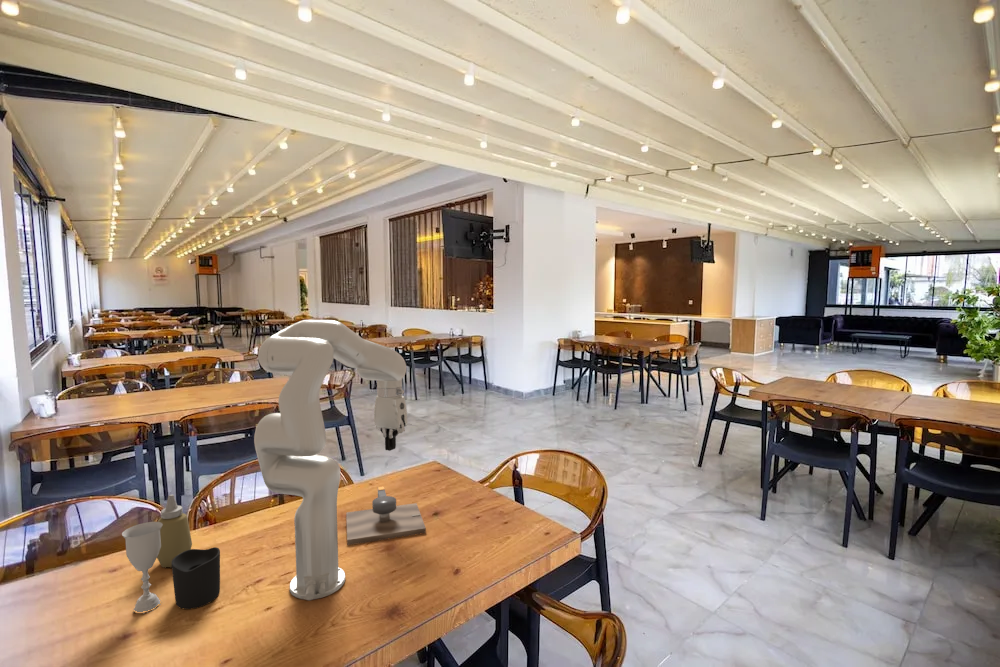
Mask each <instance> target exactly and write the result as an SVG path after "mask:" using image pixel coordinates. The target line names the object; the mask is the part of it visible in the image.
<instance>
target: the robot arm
mask: <svg viewBox="0 0 1000 667" xmlns="http://www.w3.org/2000/svg"><path fill="white" fill-rule="evenodd" d="M257 358H258V359H257V360H258V363H259V364H260V367H262V368H263V370H265V371H266V372H268V373H271V374H283V375H284V374H285V375H290V377H289V378H288V380H286V383H285V384H284V386H283V388H281V391H280V392H279V396H278V401H277V402H278V408H279V409H278V410H279V412H273V413H269V414H266V415H265V416H263V417H262V418H261V419H260V420H259V422H258V423H257V425H256V427H255V432H254V436H253V438H254V439H253V443H254V444H253V445H254V449H255V453H256V456H257V461H258V464H259V468H260V471H261V472H260V473H261V476H262V479H263V482H264V484H265V487H266V488H267V490H269V491H271V492H272V493H276V494H281V495H283V494H284V495H290V496H291V495H292V496H297V497H302V502H301V503H300V505H299V506H298V508H296V511H295V513H294V520H293V521H294V542H295V545H294V546H295V572H296V573H295V574H296V575H295V576H294V577H293V578H292V579H291V581H290V582H289V592H290V594H291V595H292V596H293V597H295V598H298V599H300V600H306V601H312V600H317V599H322V598H324V597H327V596H328V597H329V596H330V595H332V594H334V593H335V592H337V591H338V590H340V589H341V588H342V587H343V585H344V583H345V581H346V573H345V571H344V570H343V569H342V568H341V567H339V540H338V539H339V537H338V492H339V486H340V480H341V467H340V465H339V463H338V462H337V461H336V459H333V458H332V457H330V456H326V455H323V454H321V453H322V451H323V450H324V449H325V448H326V444H327V433H326V427H325V423H324V417H323V411H322V408H321V407H322V406H321V401H320V393H321V388H322V385H323V383H324V380H325V377H326V376H327V374H328V372H329V371H330V368H331V366H332V364H333V361H334V360H336V361H338V363H341V364H342V365H344V366H346V367H349V368H353V369H356V373H357V374H358V376H359V377H360V378H361V379H364V380H366V381H377V382H376V383H377V385H376V387H377V390H376V391H377V394H376V398H375V401H374V402H375V403H374V409H373V410H374V413H373V418H374V419H373V420H374V426H375V430H377V431H380V432H381V434H382V437H383V438H384V445H385V446H384V448H385V451H389V452H390V451H392V450H395V449H396V447H397V442H396V441H397V437H398V435H399V434H402V433H405V432H406V429H405V427H407V425H408V412H407V403H406V399H405V396H404V393H405V390H404V389H403V388H402V387H403V386H402V385H403V384H402V379H404V378H405V375H406V373H407V363H406V361H405V359H404V358H403V356H402V355H401V354H400V353H399V352H397V351H396V350H394V349H392V348H390V347H388V346H385V345H382V344H379V343H377V342H373V341H370V340H368V339H365V338H363V337H362V336H360V335H359V334H357V333H356V332H355V331H354V330H352V329H350V328H349V327H348V326H346V324H344V323H343V322H340V321H338V320H333V319H302V320H300V321H297V322H294V323H293V324H291V325H289V326H287V327H285V328H283V329H281V330H279V331H278V332H275V333H274V334H272V335H271V336H269V337H267V338H266V339H265V340H264V341H263V342H262V344H261V345H260V347H259V349H258V354H257ZM320 454H321V455H320Z"/></svg>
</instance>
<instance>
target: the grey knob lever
mask: <svg viewBox="0 0 1000 667" xmlns="http://www.w3.org/2000/svg"><path fill="white" fill-rule="evenodd" d="M371 503H372V509H373V512H374V513H377V514H388V513H391V512H393V511H395V510H396V506H397V498H396V497H394V496H390V495H387V493H386V488H385V486H377V497H376V498H374V499H373V500H372V502H371Z"/></svg>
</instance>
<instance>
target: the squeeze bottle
mask: <svg viewBox="0 0 1000 667" xmlns="http://www.w3.org/2000/svg"><path fill="white" fill-rule="evenodd" d="M165 505H166V506H165V508H162V509H161V510H160V518H159V519H158V520H157V521H156V522H161V523H162V524H163V525H162V527H161V529H160V538H161V548H160V551H159V554H158V556H157V558H156V559H157V561H158V563H159V565H160V566H161V567H162V568H164V567H165V569H166V567H170V568H172V564H171V562H172V560H173V559H174V558H175V557H176V556H177V555H179V554H180V553H182V552H184V551H187V550H190V549H192V546H193V541H192V536H191V531H190V526H189V518H188V514H186V513H184V511H183V509H184V508H183V506H182V505H178V503H177V500H176V498H175V495H174V494H169V495H168V496H167V501H166V504H165Z"/></svg>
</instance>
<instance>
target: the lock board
mask: <svg viewBox="0 0 1000 667" xmlns="http://www.w3.org/2000/svg"><path fill="white" fill-rule="evenodd" d="M426 530H427V527H426V524H425V522H424V519H423V517H422V514H421V512H420V509H419V507H418V502H414V503H407V504H401V505H396V510H395V511H393V512H391V513H388V514H377V513H374V512H373V508H370V509H361V510H355V511H347V512H346V540H347V541H346V542H347V543H346V545H347V546H349V545H357V544H362V543H363V544H364V543H368V542H375V541H381V540H389V539H388V538H390V539H395V537H397V538H402V536H404V537H409V535H410V536H414V535H415V534H417V535H421V534H420V533H423V534H426V533H427V531H426Z"/></svg>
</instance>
